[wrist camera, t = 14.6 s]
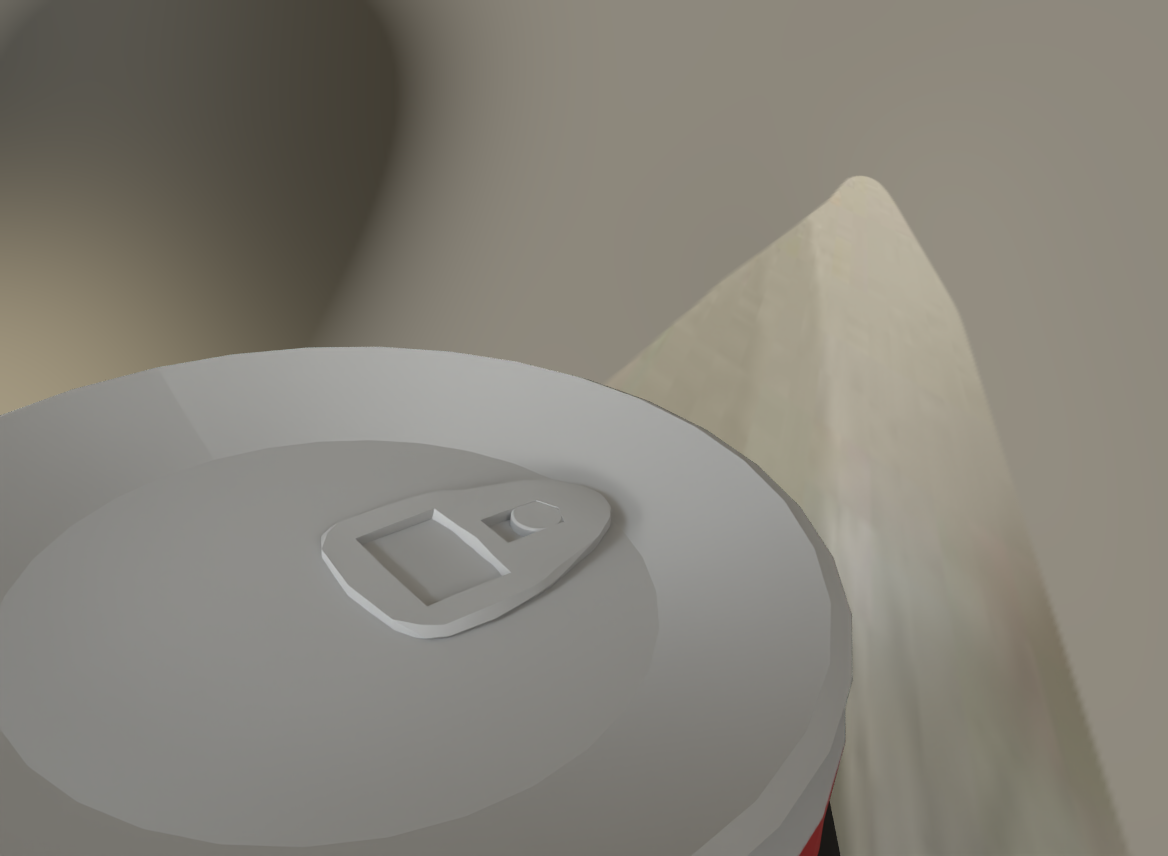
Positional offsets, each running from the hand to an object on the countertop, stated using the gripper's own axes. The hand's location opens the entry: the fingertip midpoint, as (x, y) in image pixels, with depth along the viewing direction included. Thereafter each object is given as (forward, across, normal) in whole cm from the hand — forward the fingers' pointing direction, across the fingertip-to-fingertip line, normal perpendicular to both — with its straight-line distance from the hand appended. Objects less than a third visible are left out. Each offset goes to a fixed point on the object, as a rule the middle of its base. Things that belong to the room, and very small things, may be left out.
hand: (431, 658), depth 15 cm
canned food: (-5, 0, -6) cm, 8 cm away
